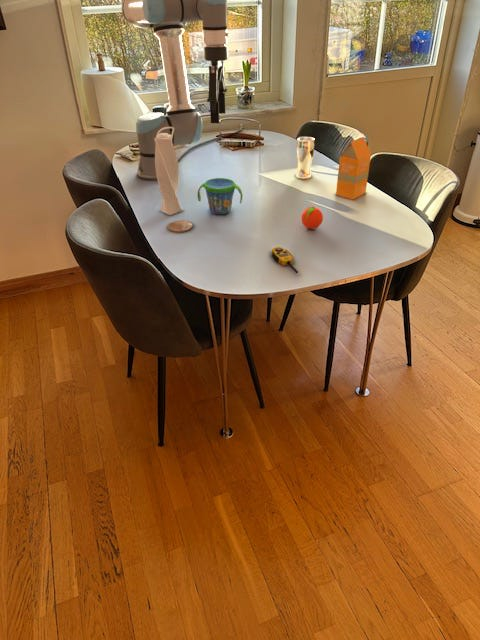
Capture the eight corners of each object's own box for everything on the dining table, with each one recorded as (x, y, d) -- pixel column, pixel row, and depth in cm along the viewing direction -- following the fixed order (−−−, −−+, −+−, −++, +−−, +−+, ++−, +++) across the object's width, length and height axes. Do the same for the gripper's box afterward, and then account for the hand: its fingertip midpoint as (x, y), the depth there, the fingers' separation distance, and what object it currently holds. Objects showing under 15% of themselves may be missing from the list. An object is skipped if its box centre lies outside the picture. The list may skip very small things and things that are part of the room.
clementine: (315, 235, 151) (317, 214, 147) (295, 230, 154) (296, 209, 150) (325, 226, 156) (327, 205, 152) (306, 221, 159) (307, 201, 155)
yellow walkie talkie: (283, 244, 142) (305, 267, 130) (283, 250, 143) (305, 273, 131) (268, 247, 141) (289, 270, 129) (268, 253, 142) (289, 276, 130)
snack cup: (245, 207, 170) (245, 179, 164) (238, 219, 162) (237, 190, 156) (204, 203, 173) (202, 176, 167) (194, 215, 165) (192, 186, 159)
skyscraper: (174, 204, 173) (166, 124, 156) (187, 210, 168) (180, 128, 152) (156, 211, 168) (146, 129, 152) (169, 217, 164) (160, 133, 147)
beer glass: (292, 178, 194) (295, 140, 185) (297, 172, 199) (300, 135, 190) (309, 180, 192) (312, 142, 183) (313, 174, 197) (316, 137, 188)
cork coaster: (171, 221, 161) (171, 220, 161) (194, 222, 160) (194, 221, 160) (165, 231, 154) (165, 230, 154) (189, 232, 154) (189, 231, 153)
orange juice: (365, 193, 180) (373, 138, 168) (353, 199, 174) (360, 144, 163) (348, 188, 184) (354, 134, 172) (335, 194, 179) (341, 139, 167)
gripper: (221, 50, 136) (223, 127, 149) (232, 41, 157) (234, 109, 169) (195, 50, 137) (200, 127, 150) (210, 41, 157) (213, 109, 170)
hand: (218, 118), depth 159 cm, fingers open, 13 cm apart
